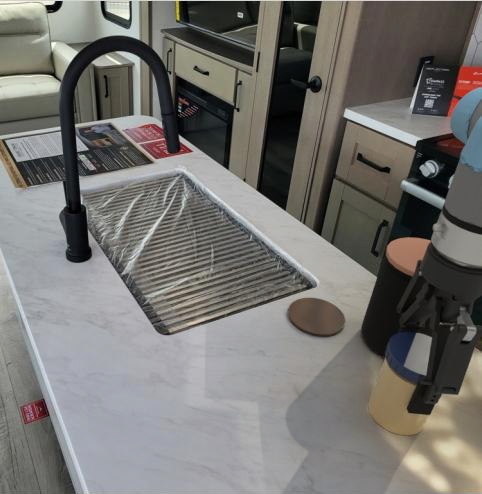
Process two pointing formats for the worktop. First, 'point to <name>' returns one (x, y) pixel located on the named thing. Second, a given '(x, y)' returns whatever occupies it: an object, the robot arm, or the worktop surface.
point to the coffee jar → (392, 293)
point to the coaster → (316, 317)
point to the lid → (409, 354)
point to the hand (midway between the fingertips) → (407, 385)
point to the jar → (394, 403)
